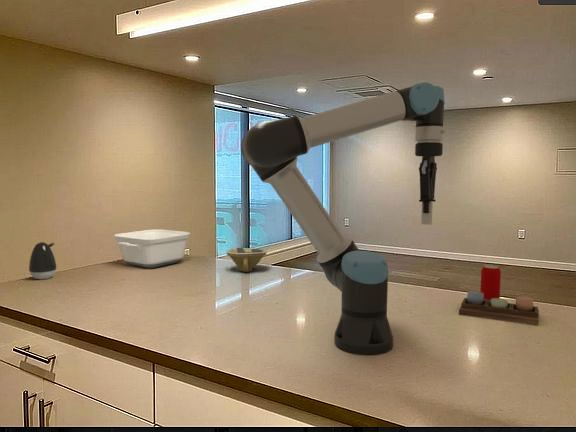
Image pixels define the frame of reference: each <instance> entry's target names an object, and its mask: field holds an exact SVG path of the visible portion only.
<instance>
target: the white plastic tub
mask: <svg viewBox="0 0 576 432" xmlns="http://www.w3.org/2000/svg"><path fill="white" fill-rule="evenodd" d="M113 236H114V239H115V240H116V241H117V245H118V248H119V251H120V253H121V254H120V255H121V258H122V260H123V261H124V262H125V263H127V264H128V265H132V266H135V267H136V266H137V267H143V268H148V269H154V268H159V267H164V266H168V265H174V264H176V263H179V262H180V261H181V260H182V259H183V257H184V256H185V252H186V247H187V242H188V239H189V237H190V236H191V232H189V231H182V230H171V229H170V230H169V229H159V228H158V229H157V228H156V229H143V230H137V231H129V232H122V233H115V234H113Z"/></svg>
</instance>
